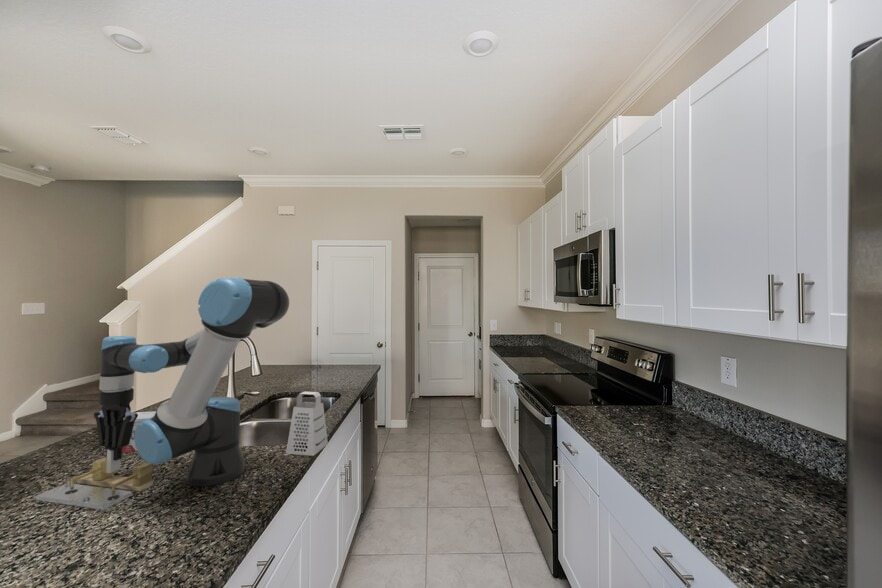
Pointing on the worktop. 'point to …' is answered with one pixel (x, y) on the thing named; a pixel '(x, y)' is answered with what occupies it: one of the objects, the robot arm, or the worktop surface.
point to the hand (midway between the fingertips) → (113, 470)
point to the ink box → (140, 418)
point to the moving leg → (95, 472)
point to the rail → (125, 479)
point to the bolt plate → (84, 496)
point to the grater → (307, 426)
